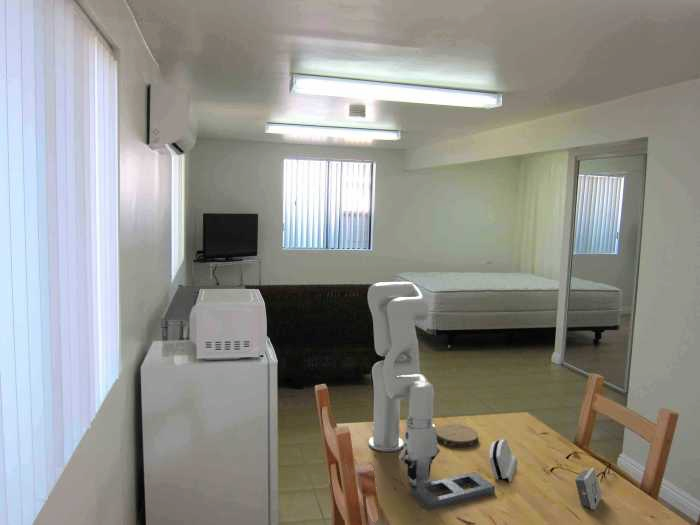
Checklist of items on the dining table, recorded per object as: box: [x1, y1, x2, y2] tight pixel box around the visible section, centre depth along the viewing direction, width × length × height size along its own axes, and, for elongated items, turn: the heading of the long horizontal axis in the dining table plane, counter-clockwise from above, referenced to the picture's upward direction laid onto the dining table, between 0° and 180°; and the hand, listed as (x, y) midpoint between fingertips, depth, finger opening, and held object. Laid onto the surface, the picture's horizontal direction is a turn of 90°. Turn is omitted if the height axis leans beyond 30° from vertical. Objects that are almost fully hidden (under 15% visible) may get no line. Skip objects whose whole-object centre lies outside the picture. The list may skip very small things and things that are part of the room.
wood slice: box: [435, 423, 479, 449], centre depth 212 cm, size 16×16×3 cm
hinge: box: [488, 439, 518, 483], centre depth 189 cm, size 17×5×10 cm, turn 157°
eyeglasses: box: [549, 451, 612, 483], centre depth 188 cm, size 16×16×4 cm
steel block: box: [408, 457, 430, 486], centre depth 178 cm, size 4×4×10 cm
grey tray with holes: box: [410, 471, 496, 511], centre depth 172 cm, size 10×24×2 cm, turn 115°
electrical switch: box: [575, 467, 602, 511], centre depth 169 cm, size 9×5×9 cm, turn 143°
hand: (418, 475), depth 178 cm, fingers open, 4 cm apart
